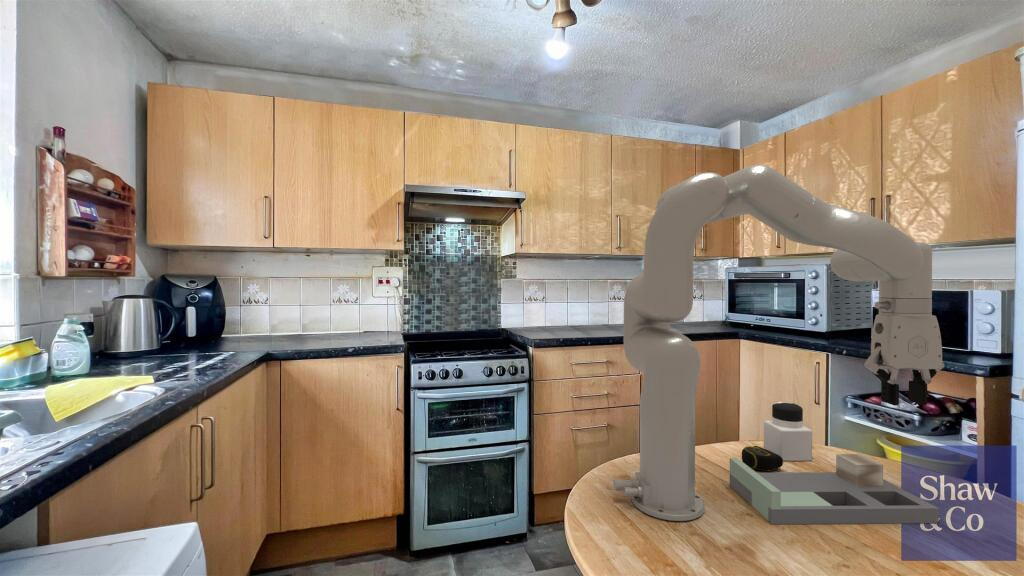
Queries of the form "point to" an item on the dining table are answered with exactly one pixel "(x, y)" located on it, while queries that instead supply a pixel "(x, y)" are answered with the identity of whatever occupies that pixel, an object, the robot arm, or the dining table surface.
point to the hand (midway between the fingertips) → (903, 402)
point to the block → (859, 470)
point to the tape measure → (761, 458)
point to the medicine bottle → (788, 433)
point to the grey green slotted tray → (826, 499)
